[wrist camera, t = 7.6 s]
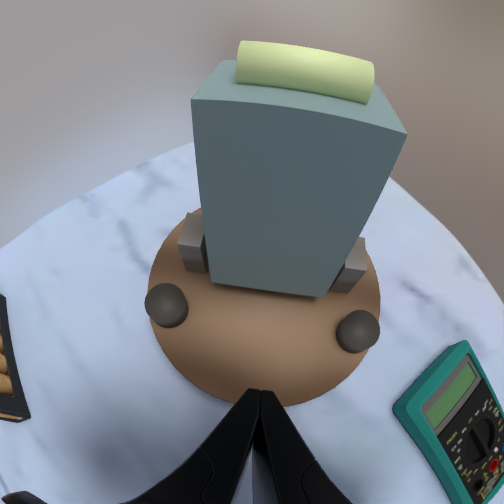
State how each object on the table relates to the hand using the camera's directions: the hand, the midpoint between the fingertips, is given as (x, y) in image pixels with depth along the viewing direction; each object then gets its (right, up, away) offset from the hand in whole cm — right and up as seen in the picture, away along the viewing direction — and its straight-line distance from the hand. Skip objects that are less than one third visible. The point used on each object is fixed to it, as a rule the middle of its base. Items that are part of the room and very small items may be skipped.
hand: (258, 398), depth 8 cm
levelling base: (+1, +3, +10) cm, 11 cm away
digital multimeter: (+15, -9, +5) cm, 19 cm away
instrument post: (+1, +4, +8) cm, 9 cm away
